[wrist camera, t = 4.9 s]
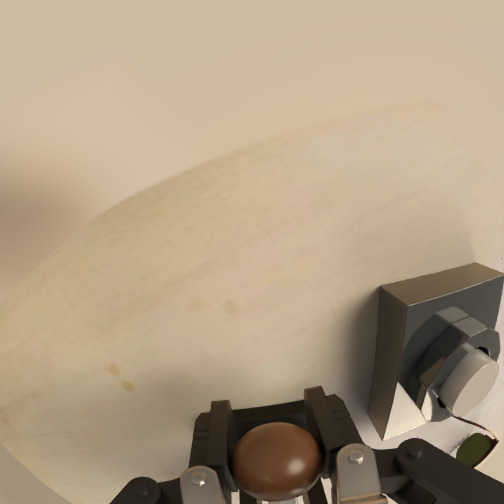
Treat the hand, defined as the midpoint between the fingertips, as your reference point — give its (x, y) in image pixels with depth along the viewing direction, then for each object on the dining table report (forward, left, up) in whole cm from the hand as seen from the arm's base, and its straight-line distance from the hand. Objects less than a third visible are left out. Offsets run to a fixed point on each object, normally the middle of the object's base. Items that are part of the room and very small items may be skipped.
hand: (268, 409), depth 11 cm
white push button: (+3, +12, -1) cm, 12 cm away
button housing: (+3, +12, -5) cm, 13 cm away
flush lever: (+5, 0, +2) cm, 5 cm away
